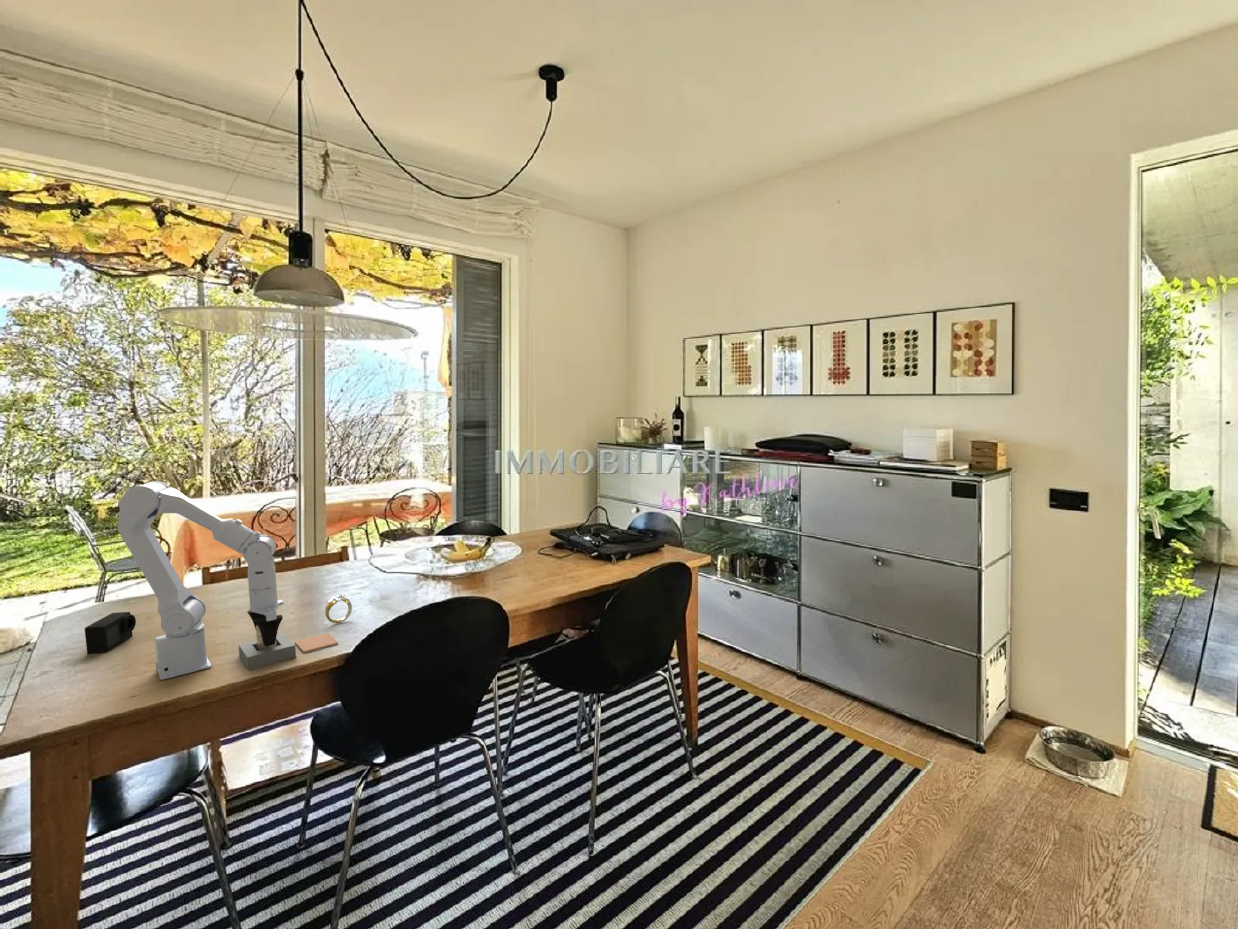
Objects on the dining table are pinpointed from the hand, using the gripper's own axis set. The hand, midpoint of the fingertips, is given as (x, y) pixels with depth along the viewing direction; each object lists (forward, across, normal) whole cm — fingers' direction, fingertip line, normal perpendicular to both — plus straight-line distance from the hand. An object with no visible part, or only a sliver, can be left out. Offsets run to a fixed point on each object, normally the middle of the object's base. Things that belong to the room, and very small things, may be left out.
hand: (266, 641), depth 142 cm
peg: (+4, 0, 0) cm, 4 cm away
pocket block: (+4, 0, 0) cm, 4 cm away
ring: (+4, +11, -20) cm, 23 cm away
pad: (+4, 0, -11) cm, 12 cm away
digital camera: (+4, +35, +27) cm, 45 cm away
